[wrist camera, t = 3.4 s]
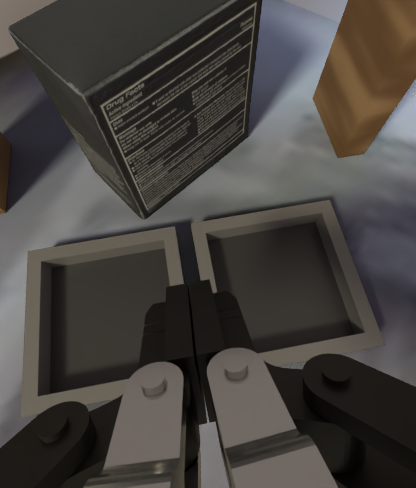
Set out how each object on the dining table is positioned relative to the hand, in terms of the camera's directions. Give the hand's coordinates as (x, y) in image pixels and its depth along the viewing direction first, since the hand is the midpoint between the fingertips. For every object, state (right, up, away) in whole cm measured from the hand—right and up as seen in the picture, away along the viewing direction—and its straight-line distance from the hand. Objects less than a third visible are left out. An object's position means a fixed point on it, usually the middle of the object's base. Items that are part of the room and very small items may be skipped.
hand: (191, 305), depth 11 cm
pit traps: (0, -1, +8) cm, 8 cm away
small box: (-2, +9, +13) cm, 16 cm away
